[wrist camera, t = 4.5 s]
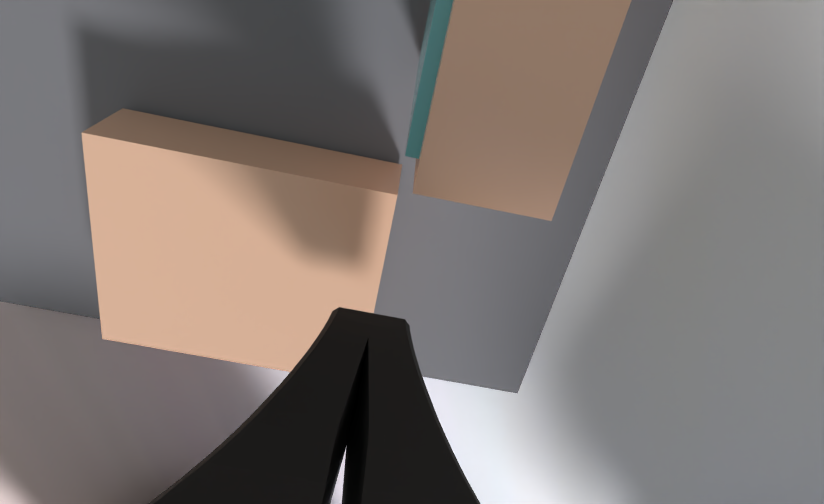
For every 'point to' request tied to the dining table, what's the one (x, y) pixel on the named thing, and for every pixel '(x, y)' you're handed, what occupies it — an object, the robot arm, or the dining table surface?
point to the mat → (299, 123)
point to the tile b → (507, 98)
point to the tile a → (230, 237)
